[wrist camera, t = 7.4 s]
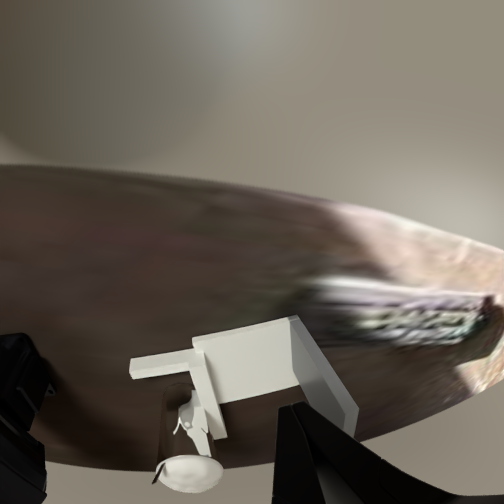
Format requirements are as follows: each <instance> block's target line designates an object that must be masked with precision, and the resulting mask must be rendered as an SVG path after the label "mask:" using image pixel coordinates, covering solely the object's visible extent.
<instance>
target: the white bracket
mask: <svg viewBox="0 0 504 504" xmlns="http://www.w3.org/2000/svg"><path fill="white" fill-rule="evenodd" d="M192 342H193V346H194V348H193V349H188V350H182V351H177V352H171V353H165V354H159V355H153V356H146V357H140V358H133V359H131V362H130V369H129V372H130V374H131V376H132V379H137V378H145V377H152V376H158V375H165V374H171V373H177V372H183V371H190V374H191V377H192V380H193V383H194V386H195V389H196V392H197V394H198V397H199V400H200V403H201V406H202V407H203V408H204V411H205V414H206V417H207V421H208V425H209V429H210V433H211V434H212V436H213V438H214V440H215V439H221V438H226V437H227V433H226V428H225V424H224V419H223V416H222V413H221V409H220V406H219V404H221V403H226V402H230V401H235V400H240V399H244V398H249V397H253V396H257V395H262V394H266V393H270V392H274V391H277V390H281V389H285V388H289V387H292V386H296V385H299V384H300V386H301V388H302V390H303V392H304V394H305V396H306V398H307V400H308V402H309V404H310V405H311V407H313V408H314V409H315V410H317V411H318V412H319V413H321V414H322V415H323V416H324V417H326V418H327V419H328V420H330V421H331V422H332V423H334V424H335V425H336V426H338V427H339V428H340V429H342V430H343V431H344V432H346V433H347V434H349V435H350V436H351V437H353V438H354V433H355V428H356V423H357V418H358V412H359V408H358V406H357V405H356V403H355V402H354V400H353V399H352V397H351V396H350V394H349V393H348V391H347V390H346V388H345V387H344V385H343V384H342V382H341V381H340V379H339V378H338V376H337V375H336V373H335V372H334V370H333V369H332V367H331V366H330V364H329V362H328V361H327V359H326V358H325V356H324V355H323V353H322V352H321V350H320V349H319V347H318V346H317V344H316V343H315V341H314V340H313V338H312V337H311V335H310V334H309V332H308V331H307V329H306V328H305V326H304V325H303V323H302V322H301V320H300V319H299V317H298V316H297V315H294V316H290V317H286V318H282V319H278V320H274V321H269V322H265V323H261V324H256V325H252V326H247V327H243V328H238V329H233V330H228V331H224V332H219V333H214V334H209V335H203V336H198V337H193V338H192Z"/></svg>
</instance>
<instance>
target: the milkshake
mask: <svg viewBox="0 0 504 504" xmlns="http://www.w3.org/2000/svg"><path fill="white" fill-rule="evenodd" d="M223 473H224V470H223V467H222V465H221V462H220V459H219V456H218V453H217V450H216V447H215V444H214V441H213V438H212V436H211V433H210V429H209V425H208V421H207V417H206V414H205V411H204V408H203V407H202V406H201V403H200V400H199V397H198V394H197V392H196V389H195V387H194V386H193V385H191V384H184V383H177V384H174V385H172V386H169V387H167V389H166V391H165V392H164V394H163V399H162V410H161V421H160V434H159V446H158V456H157V466H156V476H155V478H154V480H153V482H152V484H155V483H156V482H157V480H158V479H159V480H160V481H161V482H162V483H163V484H165V485H166V486H168V487H169V488H171V489H173V490H176V491H181V492H186V493H201V492H204V491H206V490H208V489H210V488H212V487H214V486H216V484H217V483H218V482H219V481H220V479H221V478H222V476H223Z"/></svg>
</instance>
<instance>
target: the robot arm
mask: <svg viewBox="0 0 504 504" xmlns="http://www.w3.org/2000/svg"><path fill="white" fill-rule="evenodd" d="M21 338H22V339H23V340H22V339H21ZM51 390H52V391H51ZM56 392H57V389H56V388H55V386H54V384H53V383H52V381H51V379H50V378H49V376H48V374H47V372H46V371H45V369H44V367H43V365H42V363H41V362H40V360H39V358H38V356H37V354H36V352H35V350H34V349H33V347H32V345H31V343H30V341H29V339H28V337H27V335H25V334H24V333H15V334H7V335H0V504H42V502H43V501H44V500H45V498H46V497H47V494H46V493H45V491H46V480H47V471H46V469H45V450H44V445H43V444H42V443H41V442H39V441H37V440H36V439H35V438H33V437H32V436H31V435H30V434H29V433H28V432H27V431H30V428H31V425H32V422H33V419H34V416H35V414H38V412H39V410H40V407H41V404H42V401H43V399H44V396H55V395H56ZM272 496H273V497H272V503H271V504H504V495H485V496H484V495H483V496H463V495H456V494H452V493H449V492H446V491H444V490H442V489H439V488H437V487H434V486H432V485H430V484H428V483H425V482H423V481H421V480H419V479H417V478H415V477H413V476H410V475H409V474H407V473H405V472H403V471H401V470H400V469H398V468H397V467H395V466H393V465H392V464H390V463H389V462H387V461H386V460H384V459H381V457H380V456H378V455H377V454H375V453H374V452H372V451H371V450H370V449H368V448H367V447H365V446H364V445H362V444H361V443H360V442H358V441H357V440H356V439H354V438H353V437H351V436H350V435H349V434H347V433H346V432H344V431H343V430H342V429H340V428H339V427H338V426H336V425H335V424H334V423H332V422H331V421H330V420H328V419H327V418H326V417H324V416H323V415H322V414H321V413H319V412H318V411H317V410H315V409H314V408H313V407H311V406H310V405H309V404H308V403H306V402H305V401H298V402H295V403H292V404H291V405H290V404H287V405H283V406H280V407H278V411H277V430H276V447H275V463H274V479H273V492H272Z"/></svg>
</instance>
